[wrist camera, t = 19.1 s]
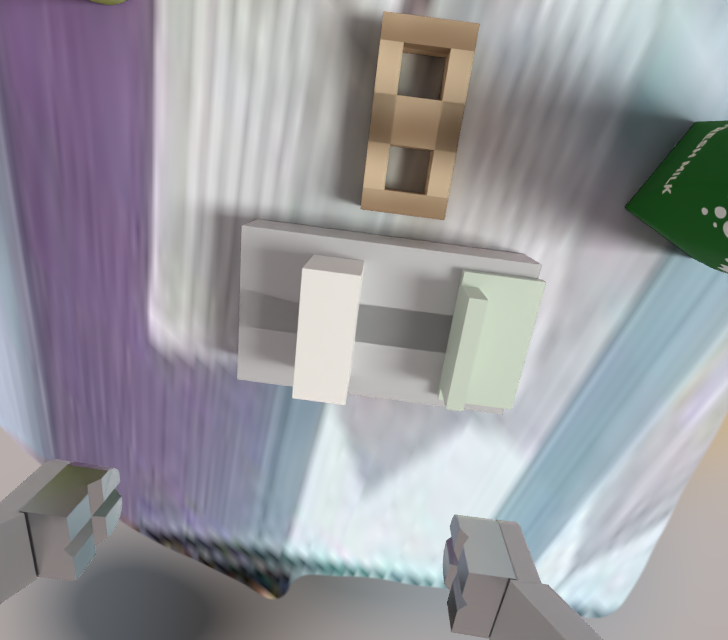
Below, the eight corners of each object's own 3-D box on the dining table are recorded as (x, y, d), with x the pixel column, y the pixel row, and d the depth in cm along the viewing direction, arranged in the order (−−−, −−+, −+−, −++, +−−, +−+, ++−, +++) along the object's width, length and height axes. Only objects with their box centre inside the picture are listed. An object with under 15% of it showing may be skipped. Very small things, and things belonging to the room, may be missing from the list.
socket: (257, 219, 34) (241, 225, 30) (524, 254, 34) (542, 264, 30) (252, 358, 38) (237, 379, 34) (490, 390, 38) (502, 414, 34)
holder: (383, 24, 29) (383, 11, 27) (472, 35, 29) (479, 23, 27) (362, 206, 33) (360, 209, 31) (440, 216, 33) (444, 220, 31)
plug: (318, 249, 33) (302, 268, 26) (366, 255, 33) (361, 275, 26) (309, 357, 36) (292, 397, 29) (352, 363, 36) (345, 405, 29)
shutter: (462, 269, 30) (472, 282, 27) (542, 279, 30) (562, 294, 27) (437, 394, 34) (443, 421, 30) (508, 404, 34) (523, 432, 30)
